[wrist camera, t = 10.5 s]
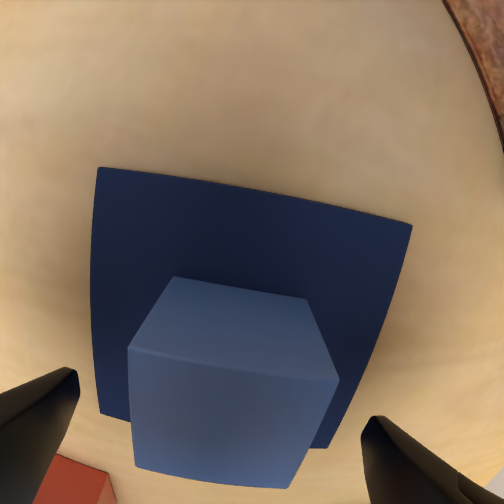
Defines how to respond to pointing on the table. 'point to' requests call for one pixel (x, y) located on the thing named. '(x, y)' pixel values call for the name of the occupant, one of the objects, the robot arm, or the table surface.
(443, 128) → the table surface
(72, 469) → the red block
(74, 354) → the table surface
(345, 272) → the blue mat
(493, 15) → the book
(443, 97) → the table surface
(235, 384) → the blue block
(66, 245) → the table surface
